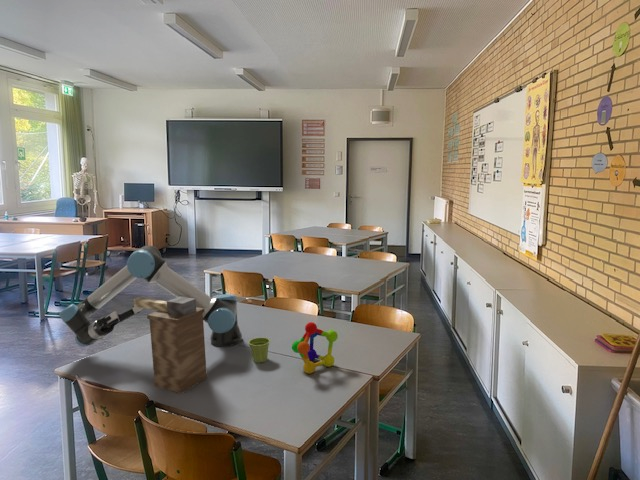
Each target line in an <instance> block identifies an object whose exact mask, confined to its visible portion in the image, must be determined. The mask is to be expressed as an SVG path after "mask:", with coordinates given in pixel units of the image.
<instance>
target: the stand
mask: <svg viewBox="0 0 640 480" xmlns="http://www.w3.org/2000/svg"><path fill="white" fill-rule="evenodd" d="M204 312H205V311H204V308H198V307H196V312H193V313H191V314H189V315H186V316H184V317H183V316H177V315H171V314H168V312H165V311H159V310H155V311H154V312H151V313H149V314H147V316H146V317H147V319H148V320H149V329H150V341H151V354H152V355H151V356H152V366H153V367H152V368H153V379H154V380H153V381H154V387H156V388H160V389H164V390H168V391H173V392H176V393H178V394H179V393H180V394H183V392H184V393H185V392H187V391H188V390H190V389H192V388H193V387H195V386H196V385H198V384H200V383H201V382H203V381H204V380H206V379H207V378H208V377H207V376H208V375H207V373H208V372H207V361H206V359H207V358H206V347H205V346H206V345H205V343H206V341H205V329H204V328H205V327H204V320H203V313H204ZM199 382H200V383H199ZM197 383H198V384H197ZM194 385H195V386H194ZM192 386H193V387H192ZM191 387H192V388H191ZM189 388H190V389H189ZM186 390H187V391H186Z"/></svg>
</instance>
